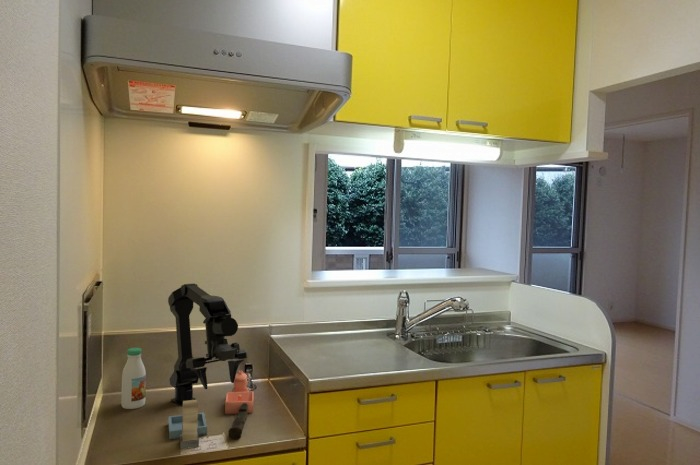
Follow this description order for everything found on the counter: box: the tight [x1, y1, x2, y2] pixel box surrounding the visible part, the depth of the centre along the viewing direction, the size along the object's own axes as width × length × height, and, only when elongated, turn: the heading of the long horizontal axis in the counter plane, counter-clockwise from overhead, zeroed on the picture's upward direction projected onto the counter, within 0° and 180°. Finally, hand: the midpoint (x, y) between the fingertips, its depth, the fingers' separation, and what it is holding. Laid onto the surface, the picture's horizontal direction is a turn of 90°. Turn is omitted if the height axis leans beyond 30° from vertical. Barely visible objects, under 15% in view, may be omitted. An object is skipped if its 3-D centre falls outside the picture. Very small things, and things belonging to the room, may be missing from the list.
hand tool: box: [228, 403, 249, 440], centre depth 157 cm, size 19×4×5 cm, turn 0°
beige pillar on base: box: [179, 399, 200, 450], centre depth 143 cm, size 5×5×12 cm
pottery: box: [224, 370, 255, 415], centre depth 175 cm, size 18×10×10 cm, turn 11°
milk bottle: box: [120, 347, 147, 410], centre depth 169 cm, size 8×8×20 cm
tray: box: [167, 412, 208, 440], centre depth 153 cm, size 11×11×2 cm
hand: (219, 386), depth 154 cm, fingers open, 9 cm apart
